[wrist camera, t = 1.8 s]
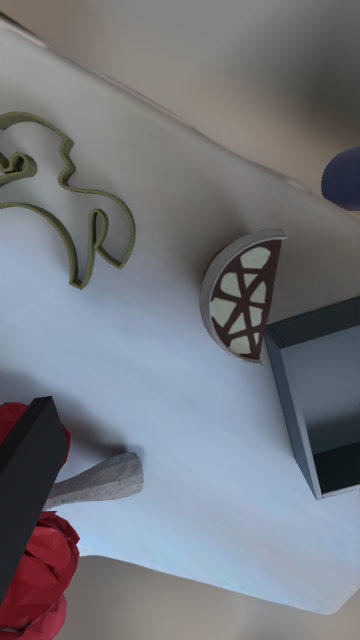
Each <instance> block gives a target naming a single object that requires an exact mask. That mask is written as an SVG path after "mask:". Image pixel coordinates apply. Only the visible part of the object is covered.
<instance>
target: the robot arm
mask: <svg viewBox="0 0 360 640" xmlns="http://www.w3.org/2000/svg"><path fill="white" fill-rule="evenodd" d="M68 450H69V446H68V443H67V440H66V437H65V434H64V431H63V428H62V425H61V422H60V419H59V416H58V413H57V410H56V407H55V404H54V401H53V398H52V396H47V397H41V398H34V399H33V401H32V402H31V403H30V405H29V406H28V407H27V409H26V410H25V411H24V413H23V414H22V415H21V417H20V418H19V419H18V421H17V422H16V423H15V425H14V426H13V427H12V429H11V430H10V431H9V433H8V434H7V436H6V437H5V438H4V440H3V441H2V442H1V444H0V606H1V604H2V602H3V599H4V597H5V595H6V592H7V590H8V588H9V586H10V583H11V581H12V579H13V576H14V574H15V572H16V569H17V567H18V565H19V563H20V560H21V558H22V556H23V553H24V551H25V549H26V546H27V544H28V542H29V540H30V537H31V535H32V533H33V530H34V528H35V526H36V523H37V521H38V519H39V516H40V514H41V512H42V510H43V507H44V505H45V503H46V500H47V498H48V496H49V493H50V491H51V489H52V487H53V484H54V482H55V480H56V477H57V475H58V473H59V470H60V468H61V466H62V464H63V461H64V459H65V457H66V454H67V452H68Z"/></svg>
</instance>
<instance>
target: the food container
mask: <svg viewBox="0 0 360 640" xmlns="http://www.w3.org/2000/svg"><path fill="white" fill-rule="evenodd" d="M281 239H288V237H286V233H285V232H284V231H282V230H281V229H268V230H261V231H257V232H254V233H250V234H247V235H245V236H243V237H241V238H239V239H237V240H236V241H234V242H233V243H231V244H229V245H227V246H226V247H224V248H223V249H221V250H220V251H218V252H217V253H216V254H215V256H214V257H213V258H212V259H211V261H210V262H209V264H208V266H207V268H206V271H205V275H204V280H203V283H202V288H201V293H200V310H201V316H202V319H203V322H204V325H205V327H206V329H207V331H208V333H209V334H210V336H211V337H212V338H213V340H214V341H215V342H216V343H217V344H218V345H219V346H220V347H221V348H222V349H223V350H225V351H226V352H227V353H229V354H230V355H231V356H233V357H235V358H237V359H239V360H241V361H244V362H247V363H250V364H254V365H261V366H263V364H262V362H261V360H260V353H261V346H262V340H263V335H264V331H265V326H266V322H267V318H268V314H269V310H270V306H271V300H272V294H273V286H274V280H275V274H276V269H277V263H278V258H279V253H280V248H281V242H282V240H281Z"/></svg>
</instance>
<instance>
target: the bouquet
mask: <svg viewBox="0 0 360 640" xmlns="http://www.w3.org/2000/svg"><path fill="white" fill-rule="evenodd" d="M28 406H29V405H25V404H22V403H19V402H14V403H4V404H2V405H1V406H0V444H1V442H2V441H3V440H4V438H5V437H6V436H7V434H8V433H9V431H10V430H11V429H12V427H13V426H14V425H15V423H16V422H17V421H18V419H19V418H20V417H21V415H22V414H23V413H24V411H25V410H26V409H27V407H28ZM61 425H62V424H61ZM62 428H63V431H64V434H65V437H66V440H67V443H68V446H69V449H70V436H71V435H70V433H69V432H68V430H67V429H66V427H65V426H64V425H62ZM68 452H69V450H68ZM68 452H67V454H66V457H65V459H64V461H63V464H62V466H63V465H64V464H65V462H66V460H67V456H68ZM62 466H61V468H62ZM61 468H60V469H61ZM59 471H60V470H59ZM142 487H143V471H142V466H141V463H140V460H139V458H138V456H137V455H136V454H135V453H134V452H128V453H123V454H120V455H117V456H114V457H112V458H110V459H107V460H105V461H103V462H101V463H99V464H97V465H95V466H94V467H92V468H90V469H88V470H86V471H84V472H82V473H80V474H79V475H77V476H75V477H72V478H70V479H68V480H65V481H62V482H59V483H55V484H53V487H52V489H51V491H50V493H49V496H48V498H47V500H46V503H45V505H44V507H43V510H42V512H41V514H40V516H39V519H38V521H37V523H36V526H35V528H34V530H33V533H32V535H31V537H30V540H29V542H28V544H27V546H26V549H25V551H24V553H23V556H22V558H21V560H20V563H19V565H18V567H17V569H16V572H15V574H14V576H13V579H12V581H11V583H10V586H9V588H8V590H7V592H6V595H5V597H4V599H3V602H2V604H1V606H0V640H52V639H53V638H54V637H55V636H56V635H57V634H58V632H59V630H60V629H61V627H62V625H63V624H64V621H65V613H66V605H67V602H66V600H65V597H64V595H63V592H64V591H65V590H66V588H67V587H68V585H69V583H70V581H71V579H72V576H73V574H74V572H75V569H76V568H77V564H78V558H79V551H78V548H77V546H76V544H77V543H78V541H79V540H80V538H79V536H78V534H77V532H76V531H75V529H74V528H73V527H72V526H71V525H70V524H69V523H68V521H67V520H65V519H63V518H61V517H59V516H57V515H55V513H56V512H57V511H45V510H47V509H50V508H52V507H55V506H59V505H62V504H66V503H73V502H83V501H103V500H113V499H120V498H124V497H128V496H131V495H133V494H136V493H139V492H140V491H141V490H142Z"/></svg>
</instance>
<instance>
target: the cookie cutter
mask: <svg viewBox="0 0 360 640" xmlns="http://www.w3.org/2000/svg"><path fill="white" fill-rule="evenodd" d="M24 121H30V122H36V123H40V124H42V125H45V126H47V127H49V128H51V129H52V130H54V131H56V132H57V133H58V134H59V135H60V136H62V137H63V138H64V140H63V141H62V143H61V145H60V154H61V157H62V158H63V160H64V161H65V163H66V166H67V167H66V168H65V169H64V170H63V171H62V172H61V174H60V175H59V178H58V183H59V185H60V186H61V187H62V188H64V189H67V190H71V191H75V192H81V193H92V194H100V195H105V196H108V197H110V198H112V199H114V200H115V201H117V202H118V203H119V204H120V205H121V206H122V207H123V209H124V210H125V212H126V214H127V216H128V219H129V222H130V227H131V240H130V245H129V249H128V252H127V254H126V257H125V259H124V261H123V262H122V263H120V262H118V261H117V260H115V259H114V258H113V257H111V256H110V255H109V254H108V253H107V252H106V251H105V250H104V249H103V248H102V246H101V244H102V242H103V241H104V239H105V236H106V234H107V230H108V218H107V215H106V214H105V212H103V211H102V210H96V209H94V210H92V211H91V212H90V215H89V251H88V262H87V268H86V273H85V277H84V280H83V282H82V281H80V280H78V279H77V276H78V261H77V254H76V250H75V247H74V244H73V241H72V239H71V237H70V235H69V233H68V231H67V230H66V228H65V227H64V226H63V225H62V223H61V222H60V221H59V220H58V219H57V218H56V217H54V216H53V215H52V214H50V213H49V212H47V211H45V210H43V209H41V208H39V207H36V206H33V205H28V204H19V203H0V209H3V208H7V207H13V206H19V207H24V208H27V209H30V210H33V211H35V212H37V213H39V214H40V215H42V216H43V217H44V218H46V219H47V220H48V221H49V222H50V223H51V224H52V225H53V226H54V227H55V228H56V230H57V231H58V232H59V234H60V236H61V237H62V239H63V241H64V244H65V246H66V249H67V253H68V257H69V263H70V281H69V284H70V285H72V286H74V287H76V288H78V289H80V290H82V289H83V288H84V287H85V286H86V285H87V284H88V282H89V279H90V277H91V274H92V270H93V265H94V259H95V250H96V251H97V252H98V253H99V254H100V255H101V256H102V257H103V258H104V259H105V260H106V261H107V262H109V263H110V264H112V265H113V266H115V267H116V268H118V269H120V270H121V269H122V267H123V266H124V265H125V263H126V262H127V260H128V259H129V257H130V255H131V252H132V250H133V246H134V242H135V223H134V219H133V216H132V214H131V212H130V210H129V208H128V207H127V206H126V205H125V203H124V202H122V201H121V200H120V199H118V198H117V197H115V196H113V195H110V194H108V193H105V192H101V191H97V190H89V189H78V188H71V187H69V186H68V184H67V182H68V179H69V177H70V176H71V175H72V174H73V173H74V172H75V166H74V164H73V163H72V161H71V159H70V157H69V152H70V149H71V148H72V146H73V145H74V143H73V142H72V141H71V140H70V139H69V138H68V137H67V136H65V135H64V134H63V133H62V132H60V131H59V130H58V129H56V128H55V127H54V126H52V125H51V124H50V123H48V122H47V121H45V120H43V119H41V118H39V117H37V116H35V115H32V114H29V113H25V112H9V113H5V114H2V115H0V128H1V129H3V130H5V129H6V128H7V127H9V126H11V125H13V124H15V123H18V122H24ZM24 160H25V163H26V166H25V169H24V170H23V171H22V163H23V161H24ZM0 169H1V171H2V173H5V174H6V175H3V176H0V187H1V186H2V185H5V184H7V183H9V182H11V181H14V180H17V179H21V178H26V177H33V176H34V175H35V174H36V172H37V165H36V163H35V161H34V160H33V159H32V158H31V157H29V156H26V155H24V154H21V153H19V152H16V153H13V154H12V155H11V157H10V161H9V162H8V160H7V158H6V157H4V156H3V155H2V154H1V153H0ZM97 213H98V214H99V215H100V217H101V219H102V229H101V233H100V236H99V238H98V240H97V242H96V216H97Z"/></svg>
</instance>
